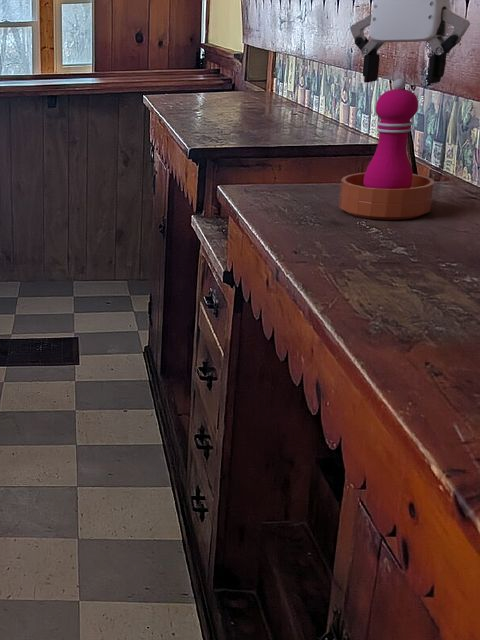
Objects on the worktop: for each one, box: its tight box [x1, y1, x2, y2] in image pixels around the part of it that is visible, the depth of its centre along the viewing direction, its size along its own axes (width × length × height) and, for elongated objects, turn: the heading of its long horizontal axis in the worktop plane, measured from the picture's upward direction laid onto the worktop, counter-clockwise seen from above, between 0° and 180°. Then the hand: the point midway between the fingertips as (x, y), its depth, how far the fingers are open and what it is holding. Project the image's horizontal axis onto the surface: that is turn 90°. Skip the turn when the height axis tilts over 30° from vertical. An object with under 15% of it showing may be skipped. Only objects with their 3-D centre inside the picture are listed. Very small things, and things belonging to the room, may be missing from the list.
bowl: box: [338, 172, 436, 221], centre depth 139 cm, size 14×14×5 cm
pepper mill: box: [363, 77, 419, 189], centre depth 136 cm, size 7×7×20 cm
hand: (401, 82), depth 132 cm, fingers open, 9 cm apart
